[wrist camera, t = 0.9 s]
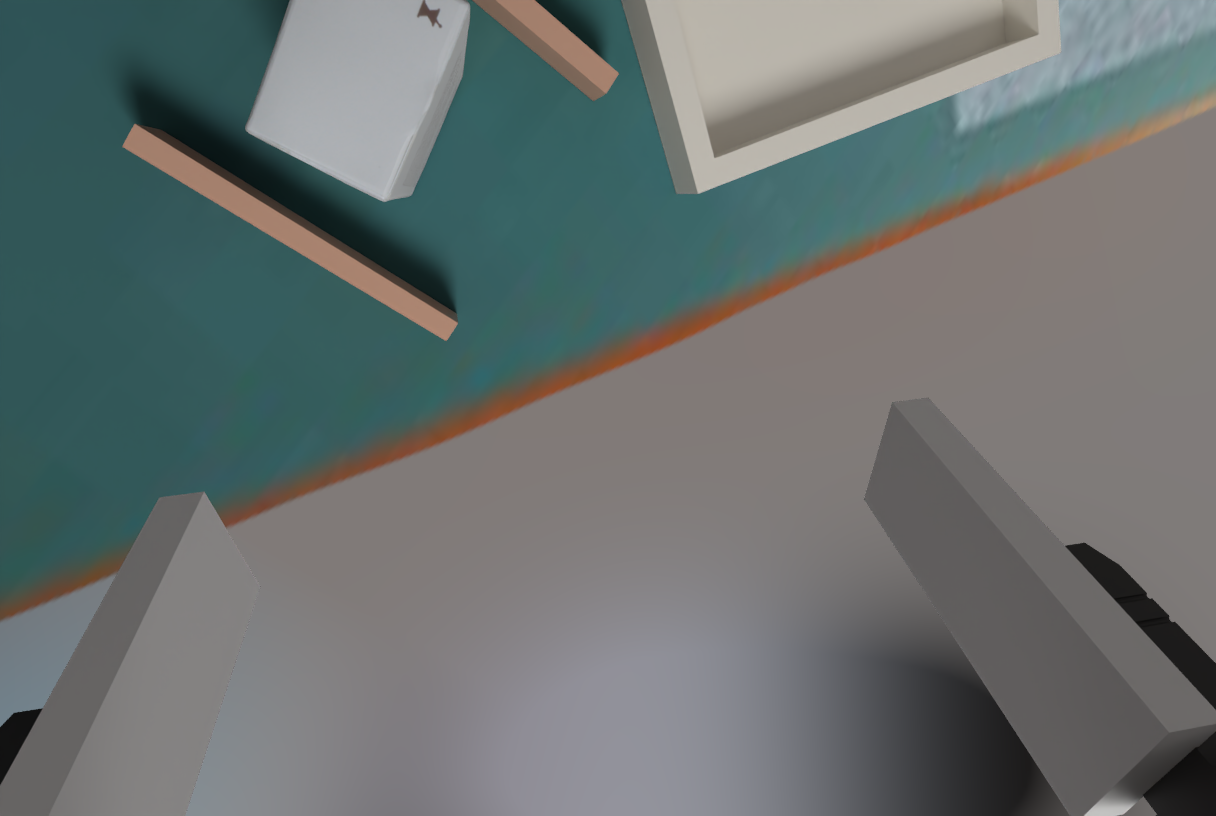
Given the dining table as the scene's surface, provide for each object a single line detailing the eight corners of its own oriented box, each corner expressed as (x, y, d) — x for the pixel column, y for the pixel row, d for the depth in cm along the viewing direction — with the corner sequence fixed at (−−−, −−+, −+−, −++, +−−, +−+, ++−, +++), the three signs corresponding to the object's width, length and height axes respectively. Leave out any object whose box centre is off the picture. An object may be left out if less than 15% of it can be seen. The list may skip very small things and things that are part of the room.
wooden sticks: (149, 150, 27) (122, 146, 25) (320, -161, 25) (308, -197, 23) (445, 330, 32) (446, 341, 30) (605, 82, 30) (618, 73, 28)
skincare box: (369, 19, 27) (321, -99, 16) (464, 75, 29) (478, 1, 18) (316, 154, 28) (237, 130, 17) (410, 201, 30) (392, 206, 19)
